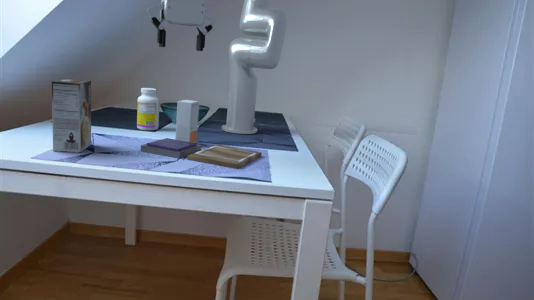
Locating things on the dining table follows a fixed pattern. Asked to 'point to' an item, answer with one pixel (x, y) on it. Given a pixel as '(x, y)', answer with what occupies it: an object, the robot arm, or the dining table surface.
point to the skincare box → (187, 120)
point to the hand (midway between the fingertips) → (181, 48)
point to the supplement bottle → (148, 110)
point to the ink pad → (171, 148)
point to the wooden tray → (225, 156)
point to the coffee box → (71, 115)
